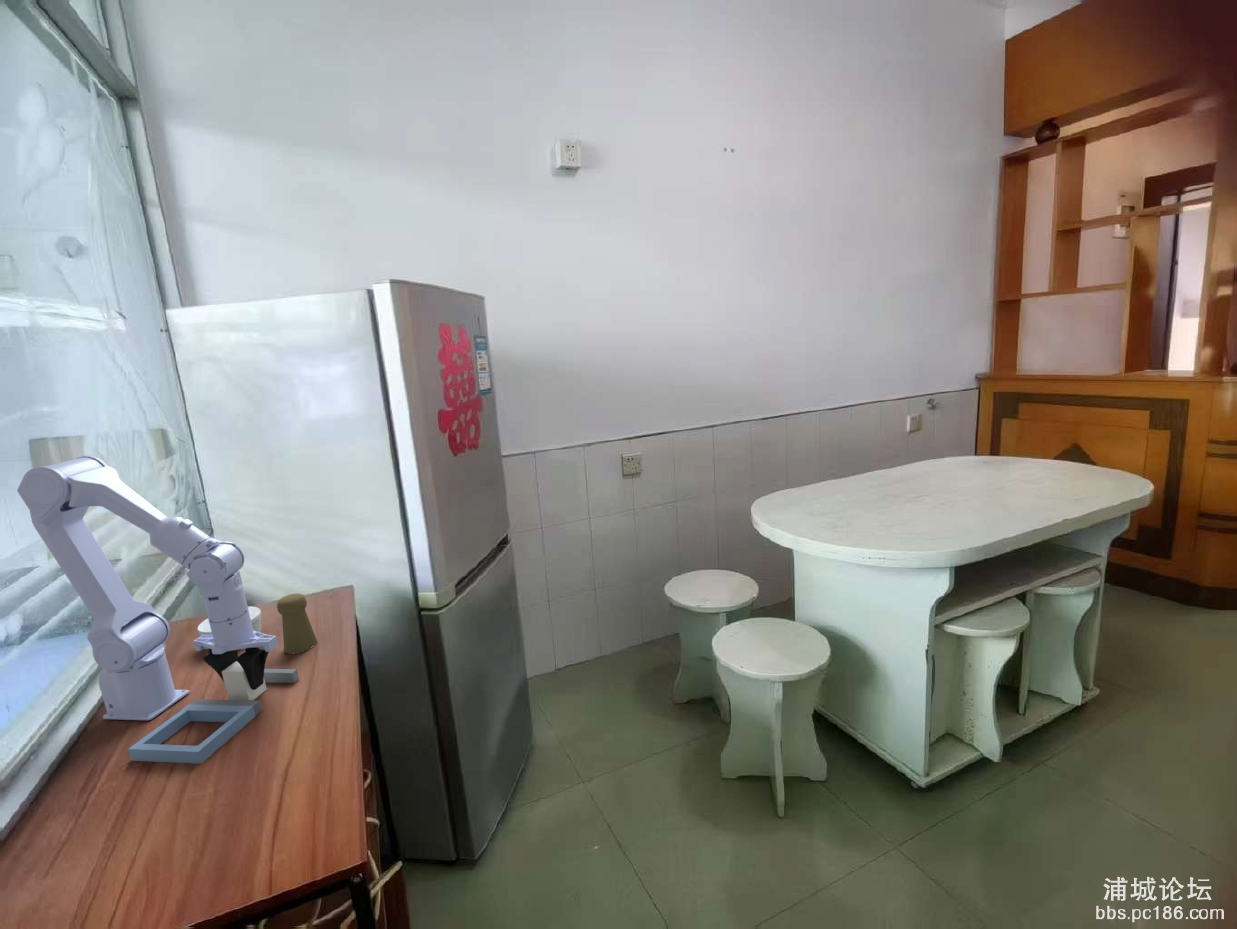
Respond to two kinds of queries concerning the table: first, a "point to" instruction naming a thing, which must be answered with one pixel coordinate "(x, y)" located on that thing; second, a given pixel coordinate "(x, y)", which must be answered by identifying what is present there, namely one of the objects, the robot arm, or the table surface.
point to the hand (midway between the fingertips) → (246, 686)
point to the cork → (295, 624)
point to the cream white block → (240, 684)
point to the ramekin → (254, 616)
